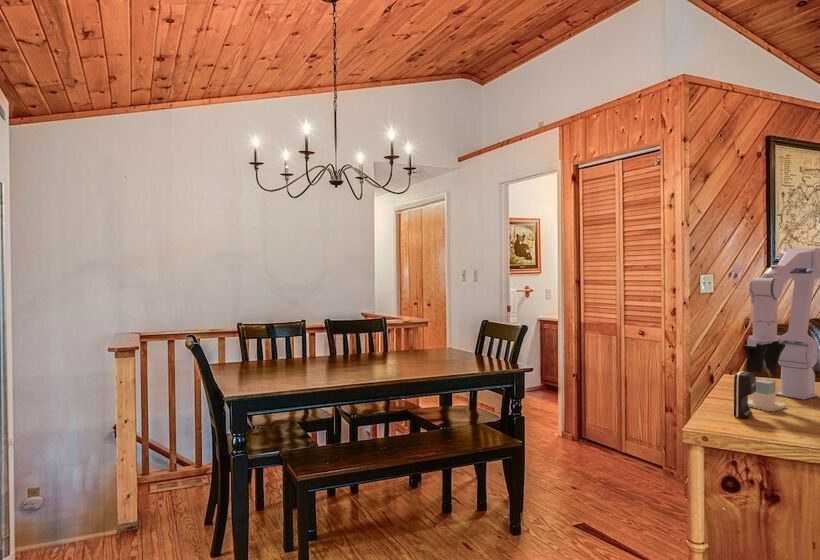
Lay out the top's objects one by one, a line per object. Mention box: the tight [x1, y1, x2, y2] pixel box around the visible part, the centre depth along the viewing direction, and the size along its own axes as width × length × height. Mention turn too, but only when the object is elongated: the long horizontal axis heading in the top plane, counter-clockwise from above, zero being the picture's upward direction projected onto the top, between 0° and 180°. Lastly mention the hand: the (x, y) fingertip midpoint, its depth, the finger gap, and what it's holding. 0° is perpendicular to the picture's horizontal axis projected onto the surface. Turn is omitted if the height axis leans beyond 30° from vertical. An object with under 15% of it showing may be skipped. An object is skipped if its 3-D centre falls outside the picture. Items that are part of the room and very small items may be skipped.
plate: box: [748, 399, 787, 412], centre depth 159 cm, size 8×8×1 cm
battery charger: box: [733, 370, 757, 419], centre depth 149 cm, size 7×4×11 cm, turn 137°
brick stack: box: [751, 379, 776, 406], centre depth 159 cm, size 4×4×6 cm
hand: (764, 370), depth 158 cm, fingers open, 7 cm apart
